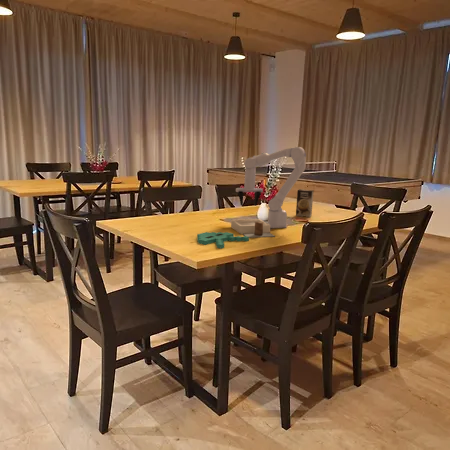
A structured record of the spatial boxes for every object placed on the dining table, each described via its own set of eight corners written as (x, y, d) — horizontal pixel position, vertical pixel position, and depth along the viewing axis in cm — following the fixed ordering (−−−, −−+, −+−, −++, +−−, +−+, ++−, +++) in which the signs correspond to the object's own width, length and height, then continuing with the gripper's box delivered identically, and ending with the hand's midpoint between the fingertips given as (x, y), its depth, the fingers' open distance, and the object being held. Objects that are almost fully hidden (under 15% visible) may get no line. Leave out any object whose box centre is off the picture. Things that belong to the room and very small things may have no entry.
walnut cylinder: (260, 233, 201) (261, 221, 200) (263, 235, 198) (264, 223, 196) (253, 233, 200) (253, 221, 199) (256, 235, 196) (256, 223, 195)
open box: (258, 226, 220) (259, 218, 219) (269, 232, 205) (270, 225, 204) (231, 227, 216) (231, 219, 215) (240, 234, 201) (240, 226, 200)
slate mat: (269, 233, 204) (269, 232, 204) (274, 236, 197) (274, 235, 197) (242, 234, 200) (242, 233, 200) (247, 237, 194) (247, 237, 193)
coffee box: (295, 216, 253) (297, 189, 250) (297, 214, 259) (299, 188, 255) (310, 217, 250) (312, 191, 246) (311, 215, 256) (313, 189, 252)
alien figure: (248, 241, 189) (215, 234, 201) (249, 236, 188) (215, 229, 201) (220, 249, 173) (187, 241, 186) (221, 244, 173) (187, 236, 185)
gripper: (238, 180, 214) (237, 206, 217) (265, 181, 217) (263, 206, 220) (235, 179, 221) (234, 204, 224) (261, 179, 224) (259, 204, 227)
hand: (248, 205), depth 222 cm, fingers open, 7 cm apart
